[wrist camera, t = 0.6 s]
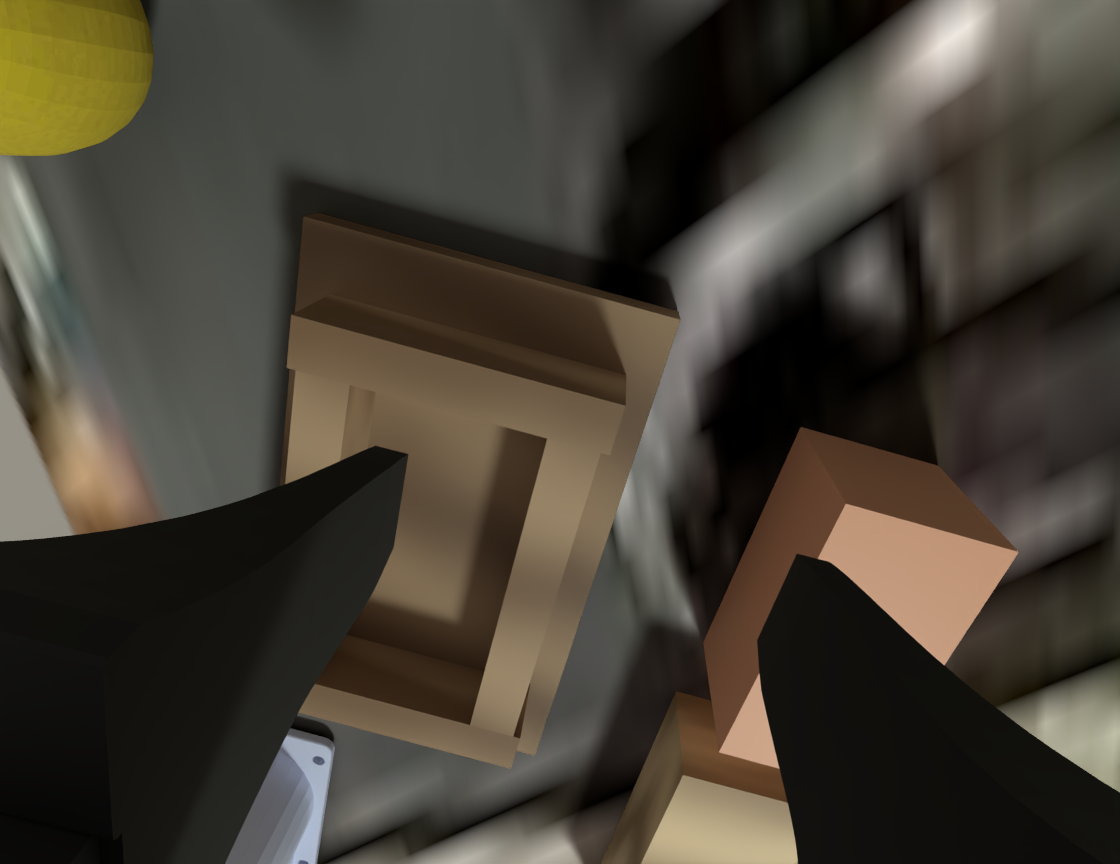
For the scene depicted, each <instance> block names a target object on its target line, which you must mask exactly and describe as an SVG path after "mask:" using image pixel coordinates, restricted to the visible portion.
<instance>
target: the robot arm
mask: <svg viewBox="0 0 1120 864" xmlns="http://www.w3.org/2000/svg"><path fill="white" fill-rule="evenodd" d="M407 461H408V454H406V453H402V452H398V451H395V450H391V449H387V448H383V447H379V446H374V447H371V448H368V449H366V450H363V451H361V452H359V453H357V454H354V455H352V456H350V457H348V458H345V459H343V460H341V461H339V462H337V463H334V464H332V465H330V466H328V467H325V468H323V469H321V470H318V471H316V472H314V473H312V474H309V475H307V476H305V477H302V478H300V479H298V480H295V481H292V482H290V483H287V484H284V485H282V486H279V487H276V488H274V489H271V490H268V491H266V492H263V493H260V494H258V495H255V496H253V497H250V498H247V499H244V500H241V501H238V502H234V503H231V504H228V505H224V506H221V507H217V508H214V509H210V510H206V511H202V512H199V513H195V514H191V515H187V516H183V517H178V518H173V519H168V520H163V521H158V522H153V523H148V524H143V525H138V526H133V527H128V528H123V529H116V530H110V531H103V532H95V533H88V534H81V535H72V536H64V537H54V538H45V539H34V540H22V541H4V542H0V864H317V859H318V852H319V846H320V840H321V833H322V827H323V821H324V814H325V808H326V801H327V795H328V789H329V782H330V776H331V770H332V763H333V757H334V750H335V747H334V744H333V742H332V741H331V740H329V739H328V738H325V737H322V736H318V735H314V734H310V733H307V732H303V731H299V730H295V729H291V726H292V724H293V722H294V720H295V718H296V716H297V714H298V712H299V710H300V708H301V707H302V705H303V703H304V701H305V700H306V698H307V696H308V694H309V693H310V691H311V689H312V688H313V686H314V685H315V683H316V681H317V680H318V678H319V677H320V675H321V674H322V672H323V671H324V669H325V667H326V666H327V664H328V663H329V661H330V660H331V658H332V656H333V655H334V653H335V652H336V650H337V649H338V647H339V646H340V644H341V642H342V641H343V639H344V638H345V636H346V635H347V633H348V631H349V630H350V628H351V627H352V625H353V624H354V622H355V620H356V619H357V617H358V616H359V614H360V613H361V611H362V609H363V608H364V606H365V605H366V603H367V601H368V600H369V598H370V597H371V595H372V593H373V592H374V589H375V587H376V585H377V583H378V581H379V579H380V577H381V575H382V573H383V570H384V568H385V566H386V564H387V561H388V559H389V557H390V555H391V552H392V550H393V548H394V543H395V536H396V530H397V524H398V517H399V511H400V505H401V499H402V492H403V486H404V480H405V473H406V467H407ZM757 647H758V662H759V674H760V683H761V692H762V696H763V701H764V706H765V710H766V714H767V719H768V723H769V727H770V732H771V736H772V740H773V744H774V748H775V752H776V757H777V761H778V765H779V769H780V773H781V777H782V781H783V786H784V790H785V794H786V798H787V802H788V806H789V811H790V816H791V821H792V826H793V831H794V836H795V843H796V850H797V858H798V864H1120V793H1119V792H1118V791H1116V790H1115V789H1113V788H1111V787H1110V786H1108V785H1106V784H1105V783H1103V782H1102V781H1100V780H1098V779H1097V778H1095V777H1094V776H1092V775H1091V774H1089V773H1088V772H1086V771H1085V770H1083V769H1082V768H1080V767H1079V766H1077V765H1076V764H1074V763H1073V762H1071V761H1070V760H1068V759H1067V758H1065V757H1064V756H1062V755H1061V754H1059V753H1058V752H1056V751H1055V750H1053V749H1052V748H1050V747H1049V746H1047V745H1046V744H1044V743H1043V742H1042V741H1040V740H1039V739H1037V738H1036V737H1034V736H1033V735H1032V734H1030V733H1029V732H1027V731H1026V730H1025V729H1023V728H1022V727H1021V726H1019V725H1018V724H1017V723H1015V722H1014V721H1013V720H1011V719H1010V718H1009V717H1007V716H1006V715H1005V714H1004V713H1002V712H1001V711H1000V710H998V709H997V708H996V707H994V706H993V705H992V704H990V703H989V702H988V701H986V700H985V699H984V698H983V697H981V696H980V695H979V694H978V693H976V692H975V691H974V690H973V689H971V688H970V687H969V686H968V685H967V684H965V683H964V682H963V681H962V680H961V679H960V678H958V677H957V676H956V675H955V674H954V673H953V672H951V671H950V670H949V669H948V668H947V667H946V666H944V665H943V664H942V663H941V662H940V661H939V660H937V659H936V658H935V657H934V656H933V655H932V654H931V653H930V652H928V651H927V650H926V649H925V648H924V647H923V646H922V645H921V644H920V643H918V642H917V641H916V640H915V639H914V638H913V637H912V636H911V635H910V634H909V633H908V632H907V631H905V630H904V629H903V628H902V627H901V626H900V625H899V624H898V623H897V622H896V621H895V620H894V619H893V618H892V617H891V616H890V615H889V614H887V613H886V612H885V611H884V610H883V609H882V608H881V607H880V606H879V605H878V604H877V603H876V602H875V601H874V600H873V599H872V598H871V597H870V596H869V595H867V594H866V593H865V592H864V591H863V590H862V589H861V588H860V587H859V586H858V585H857V584H856V583H855V582H853V581H852V580H851V579H850V578H849V577H848V576H847V575H846V574H844V573H843V572H842V571H841V570H840V569H838V568H837V567H836V566H835V565H833V564H832V563H830V562H828V561H824V560H820V559H816V558H812V557H808V556H805V555H801V554H796V556H795V559H794V561H793V563H792V565H791V567H790V569H789V572H788V574H787V576H786V578H785V580H784V583H783V585H782V587H781V589H780V591H779V593H778V596H777V598H776V600H775V602H774V604H773V606H772V609H771V611H770V613H769V615H768V617H767V620H766V622H765V624H764V626H763V628H762V630H761V633H760V635H759V637H758V639H757Z"/></svg>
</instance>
